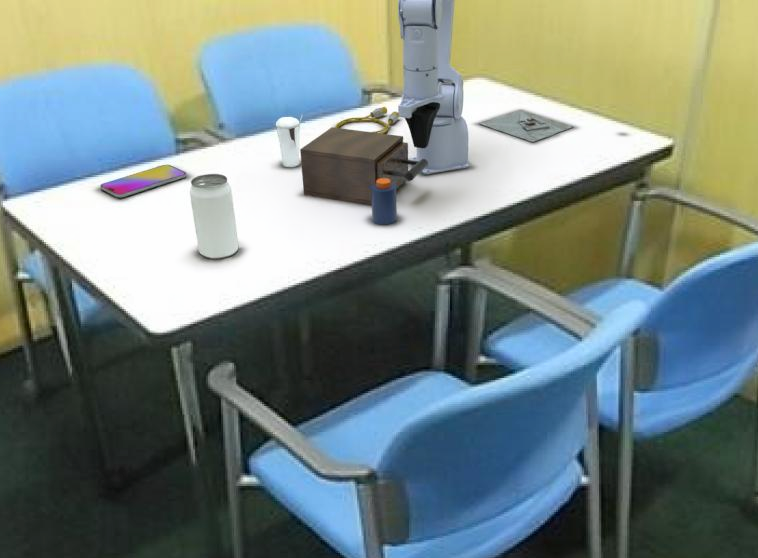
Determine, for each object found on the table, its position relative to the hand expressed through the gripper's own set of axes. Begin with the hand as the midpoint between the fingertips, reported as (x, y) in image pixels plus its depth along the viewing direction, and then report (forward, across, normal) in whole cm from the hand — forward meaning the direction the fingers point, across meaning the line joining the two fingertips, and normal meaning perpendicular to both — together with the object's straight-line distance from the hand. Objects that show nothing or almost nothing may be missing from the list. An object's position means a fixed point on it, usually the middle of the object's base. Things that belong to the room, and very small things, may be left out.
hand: (420, 146), depth 165 cm
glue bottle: (+9, -11, +2) cm, 15 cm away
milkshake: (+10, +6, +30) cm, 32 cm away
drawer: (+9, 0, +9) cm, 13 cm away
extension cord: (+10, +31, +25) cm, 41 cm away
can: (+10, -32, +22) cm, 40 cm away
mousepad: (+10, +43, -11) cm, 46 cm away
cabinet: (+9, 0, +13) cm, 16 cm away
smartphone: (+9, -12, +52) cm, 54 cm away
